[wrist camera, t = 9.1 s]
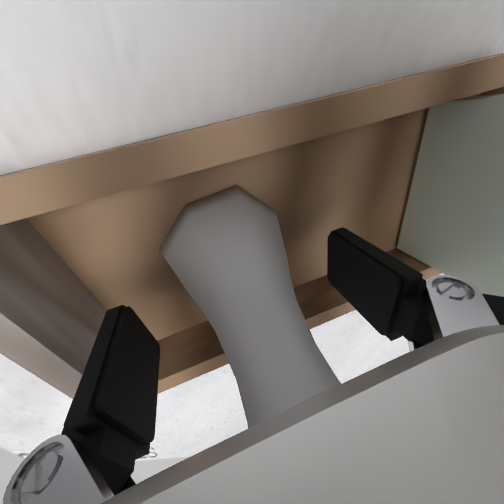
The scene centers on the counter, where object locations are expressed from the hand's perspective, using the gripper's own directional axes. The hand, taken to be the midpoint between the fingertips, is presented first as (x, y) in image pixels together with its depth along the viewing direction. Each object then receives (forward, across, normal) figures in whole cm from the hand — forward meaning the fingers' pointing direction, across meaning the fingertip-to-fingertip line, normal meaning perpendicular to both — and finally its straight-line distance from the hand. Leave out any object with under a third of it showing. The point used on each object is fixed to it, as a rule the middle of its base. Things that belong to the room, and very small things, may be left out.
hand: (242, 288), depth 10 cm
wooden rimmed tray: (+5, -5, 0) cm, 7 cm away
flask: (+4, 0, 0) cm, 4 cm away
